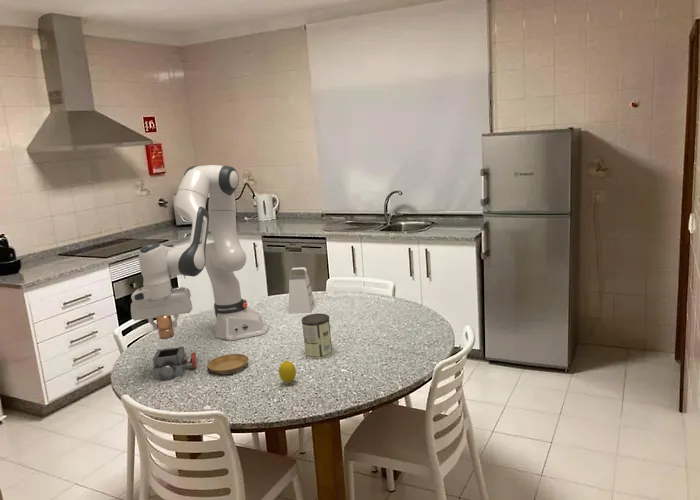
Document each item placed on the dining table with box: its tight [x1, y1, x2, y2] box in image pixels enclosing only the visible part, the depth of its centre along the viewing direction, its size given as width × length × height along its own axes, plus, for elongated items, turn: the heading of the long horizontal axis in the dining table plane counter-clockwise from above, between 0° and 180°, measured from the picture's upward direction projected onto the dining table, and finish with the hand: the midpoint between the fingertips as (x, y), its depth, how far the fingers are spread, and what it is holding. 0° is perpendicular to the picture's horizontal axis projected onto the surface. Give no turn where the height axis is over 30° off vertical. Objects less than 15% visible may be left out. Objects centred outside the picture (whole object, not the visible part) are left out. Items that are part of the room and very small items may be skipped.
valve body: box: [152, 346, 198, 381], centre depth 206 cm, size 16×14×7 cm
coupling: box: [155, 315, 175, 340], centre depth 198 cm, size 5×5×8 cm
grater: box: [288, 266, 316, 315], centre depth 263 cm, size 10×10×20 cm
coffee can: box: [301, 313, 333, 360], centre depth 209 cm, size 10×10×14 cm
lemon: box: [278, 360, 297, 384], centre depth 187 cm, size 6×6×8 cm
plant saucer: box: [206, 353, 250, 375], centre depth 205 cm, size 15×15×3 cm
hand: (165, 327), depth 198 cm, fingers closed on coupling, 5 cm apart
